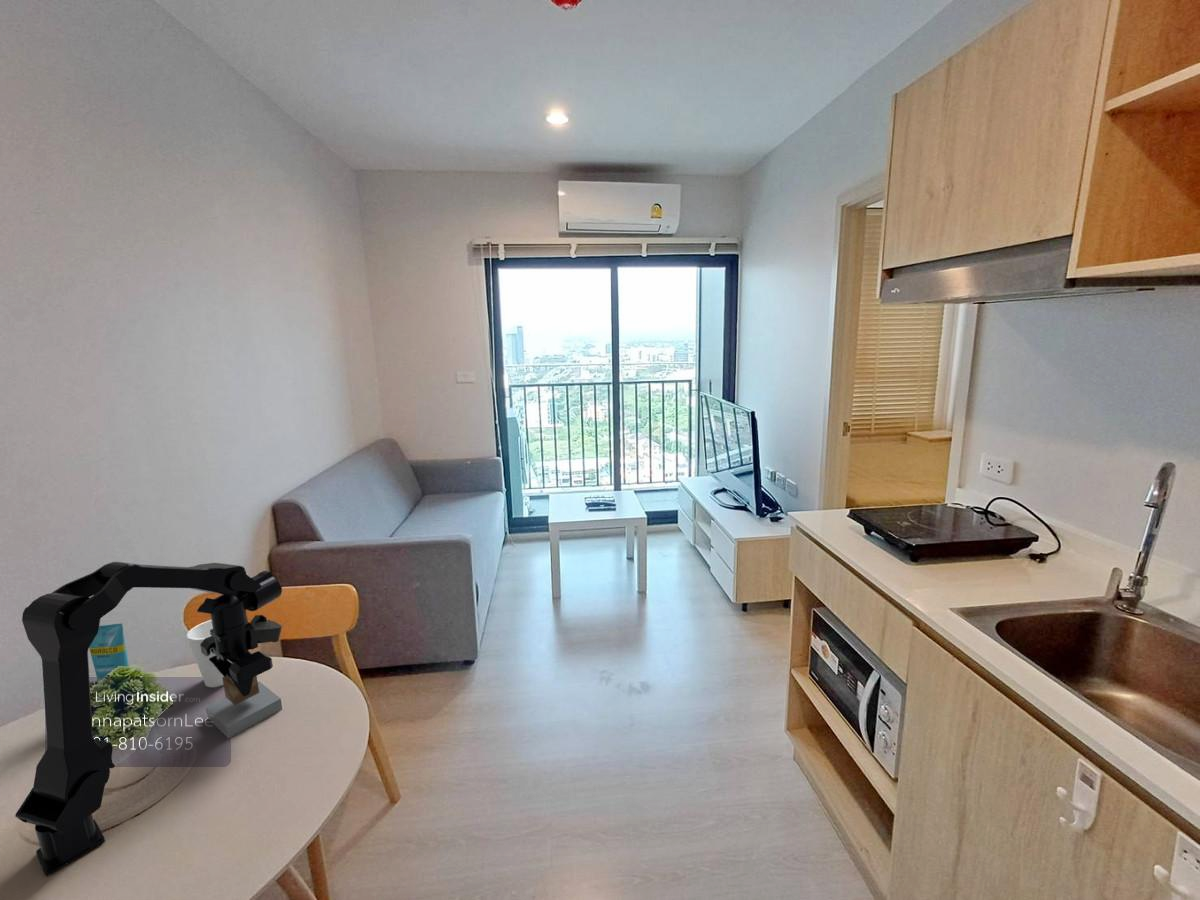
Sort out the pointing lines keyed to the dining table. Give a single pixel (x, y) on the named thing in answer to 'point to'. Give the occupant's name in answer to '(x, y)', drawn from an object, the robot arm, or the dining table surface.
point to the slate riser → (243, 711)
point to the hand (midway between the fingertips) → (241, 690)
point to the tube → (108, 649)
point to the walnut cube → (234, 693)
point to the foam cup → (205, 666)
